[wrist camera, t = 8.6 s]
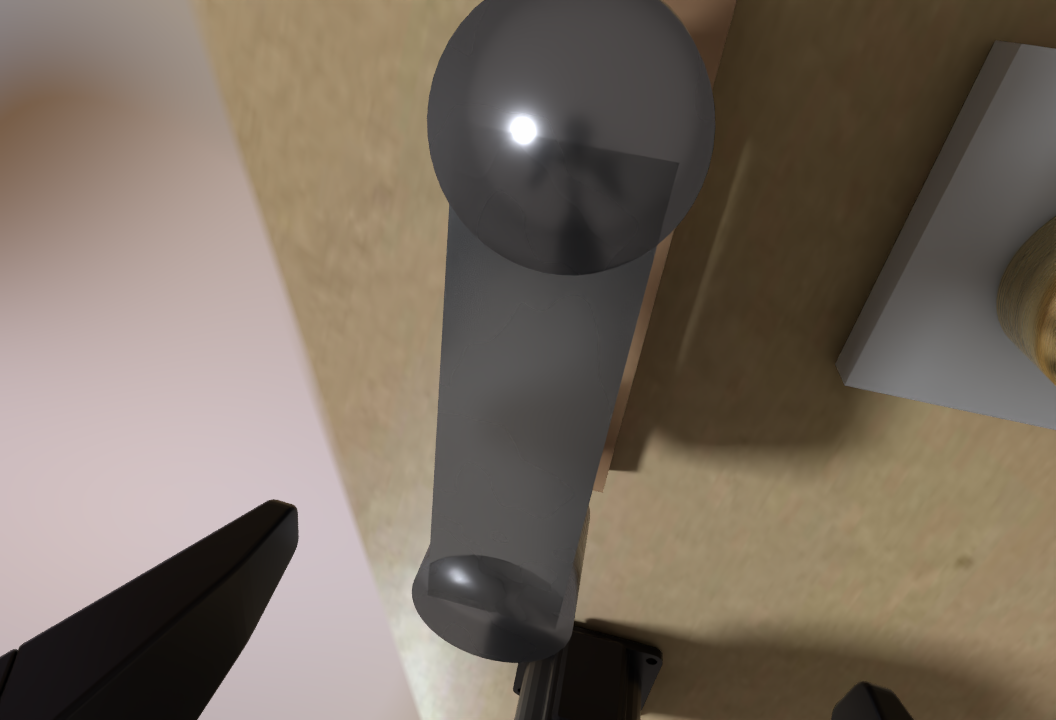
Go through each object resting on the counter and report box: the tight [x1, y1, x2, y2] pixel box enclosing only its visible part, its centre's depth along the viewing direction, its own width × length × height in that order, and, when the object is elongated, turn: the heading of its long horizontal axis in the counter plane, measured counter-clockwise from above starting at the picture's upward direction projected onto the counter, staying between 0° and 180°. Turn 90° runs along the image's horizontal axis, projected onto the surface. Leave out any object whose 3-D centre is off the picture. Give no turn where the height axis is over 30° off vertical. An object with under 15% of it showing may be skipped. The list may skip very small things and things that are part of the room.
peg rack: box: [593, 0, 737, 493], centre depth 16 cm, size 16×5×5 cm, turn 173°
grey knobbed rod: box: [412, 0, 715, 663], centre depth 13 cm, size 15×4×4 cm, turn 173°
